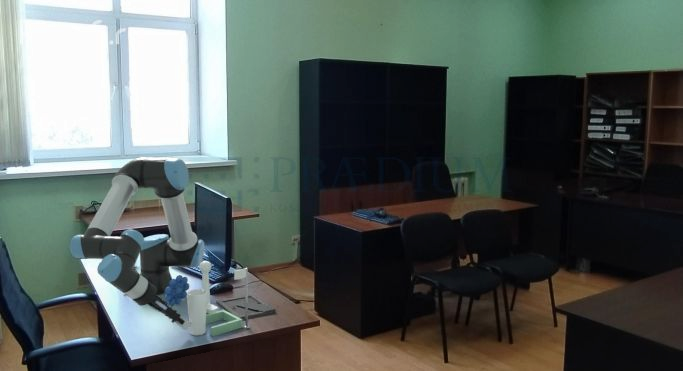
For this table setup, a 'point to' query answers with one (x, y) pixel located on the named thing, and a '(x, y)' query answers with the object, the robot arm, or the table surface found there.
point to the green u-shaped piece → (231, 324)
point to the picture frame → (238, 306)
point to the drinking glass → (197, 311)
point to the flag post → (244, 274)
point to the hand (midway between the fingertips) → (187, 326)
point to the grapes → (176, 290)
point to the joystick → (207, 285)
